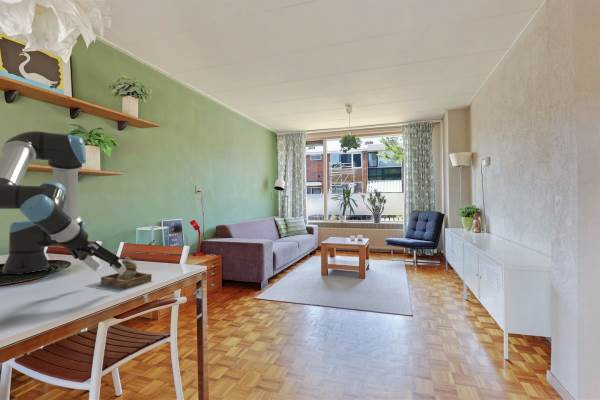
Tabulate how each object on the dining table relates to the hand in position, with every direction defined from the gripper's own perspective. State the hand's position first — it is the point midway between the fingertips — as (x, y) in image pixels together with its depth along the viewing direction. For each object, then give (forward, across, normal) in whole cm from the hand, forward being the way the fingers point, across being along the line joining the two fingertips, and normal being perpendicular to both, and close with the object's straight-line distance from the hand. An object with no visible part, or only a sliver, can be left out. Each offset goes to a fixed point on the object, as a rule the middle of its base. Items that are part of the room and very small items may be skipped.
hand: (110, 269), depth 110 cm
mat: (+9, -1, -1) cm, 9 cm away
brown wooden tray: (+10, 0, 0) cm, 10 cm away
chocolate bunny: (+10, 0, +1) cm, 10 cm away
